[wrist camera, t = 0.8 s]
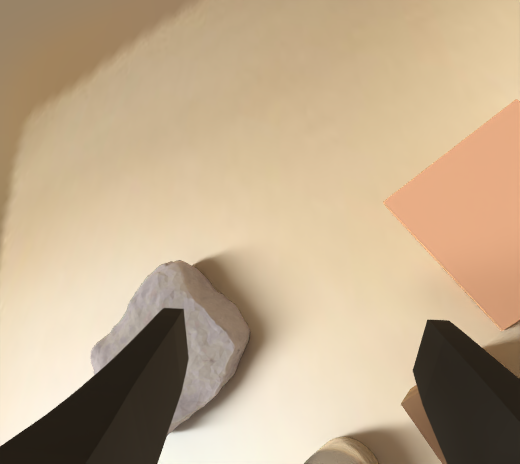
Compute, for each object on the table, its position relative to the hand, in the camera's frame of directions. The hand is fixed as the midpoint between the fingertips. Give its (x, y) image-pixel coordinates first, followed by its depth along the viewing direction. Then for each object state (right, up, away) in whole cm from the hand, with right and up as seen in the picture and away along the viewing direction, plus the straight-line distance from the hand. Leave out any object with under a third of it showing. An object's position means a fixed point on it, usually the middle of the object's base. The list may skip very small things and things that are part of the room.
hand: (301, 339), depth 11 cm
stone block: (-7, -7, +18) cm, 21 cm away
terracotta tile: (+14, +5, +10) cm, 18 cm away
